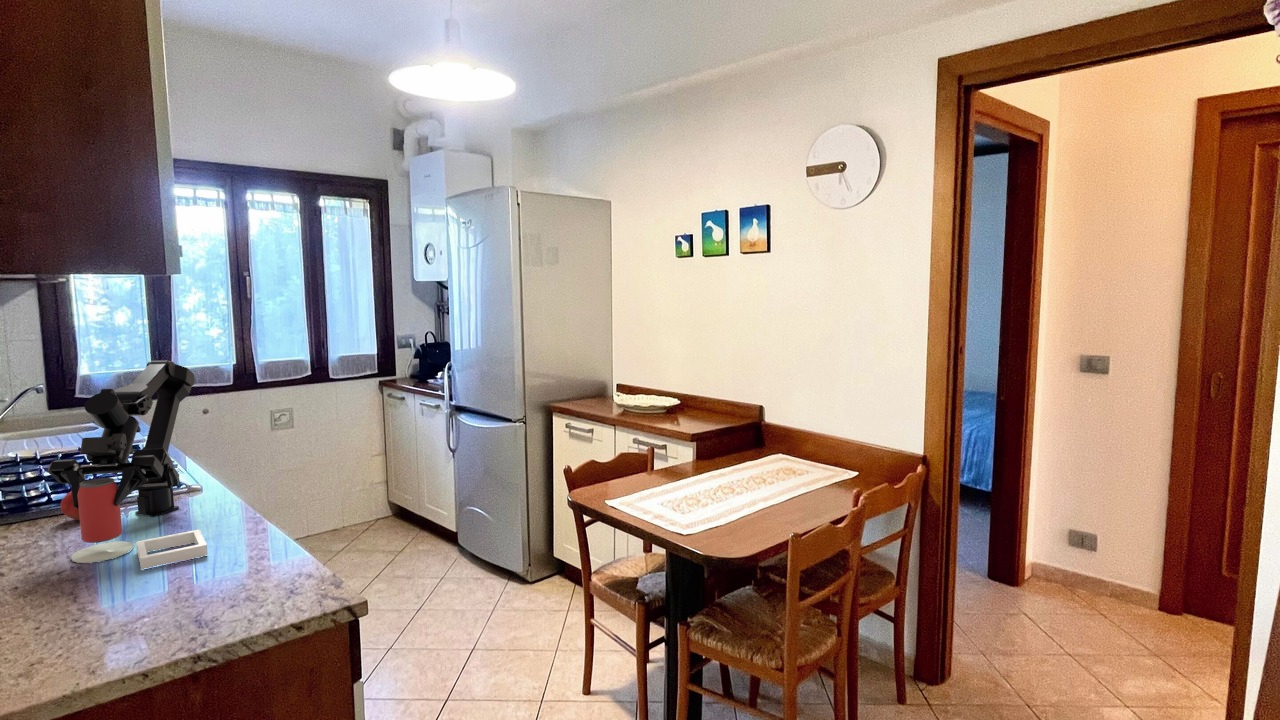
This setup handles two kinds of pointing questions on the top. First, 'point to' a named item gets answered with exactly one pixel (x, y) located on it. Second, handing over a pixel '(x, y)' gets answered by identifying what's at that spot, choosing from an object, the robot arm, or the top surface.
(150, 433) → the robot arm
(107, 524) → the beer can
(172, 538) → the collar
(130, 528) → the top surface
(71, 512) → the onion
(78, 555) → the coaster
